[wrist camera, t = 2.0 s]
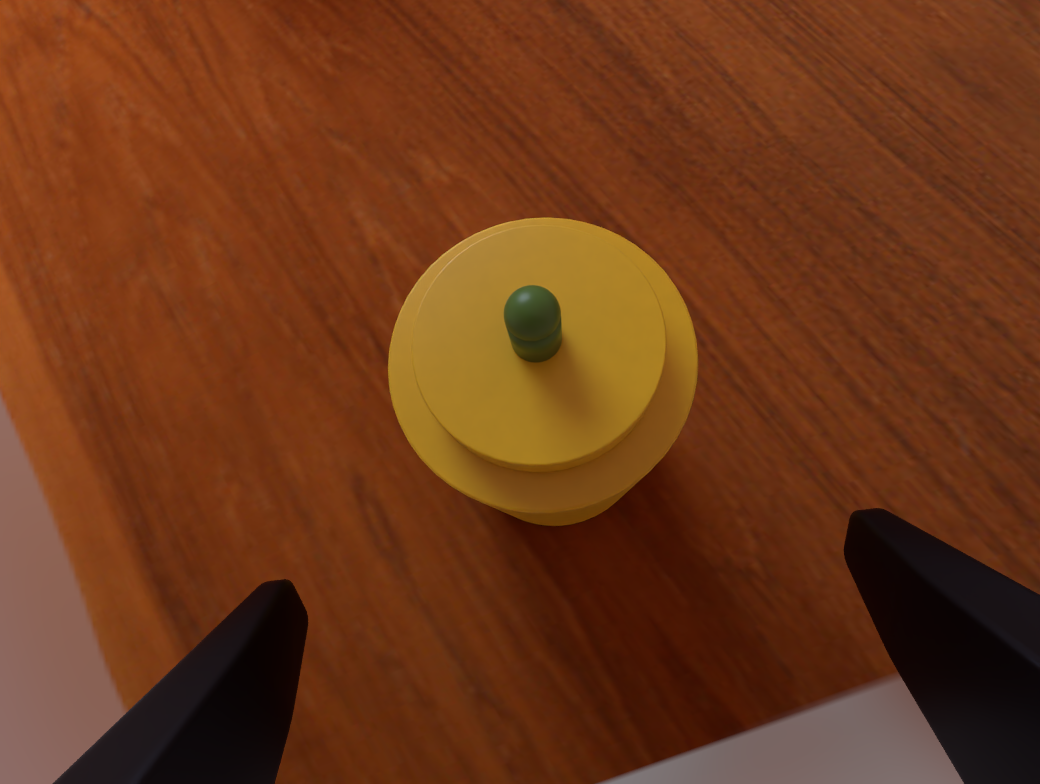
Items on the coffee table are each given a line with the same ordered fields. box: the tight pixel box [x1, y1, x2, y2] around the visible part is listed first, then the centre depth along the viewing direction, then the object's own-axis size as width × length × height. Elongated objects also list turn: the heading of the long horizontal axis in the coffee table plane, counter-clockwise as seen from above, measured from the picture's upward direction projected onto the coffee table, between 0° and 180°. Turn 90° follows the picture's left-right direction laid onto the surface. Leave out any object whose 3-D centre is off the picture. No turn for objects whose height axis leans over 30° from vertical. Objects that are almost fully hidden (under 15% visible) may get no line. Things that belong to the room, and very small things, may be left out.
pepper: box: [388, 218, 698, 526], centre depth 15 cm, size 7×7×12 cm
